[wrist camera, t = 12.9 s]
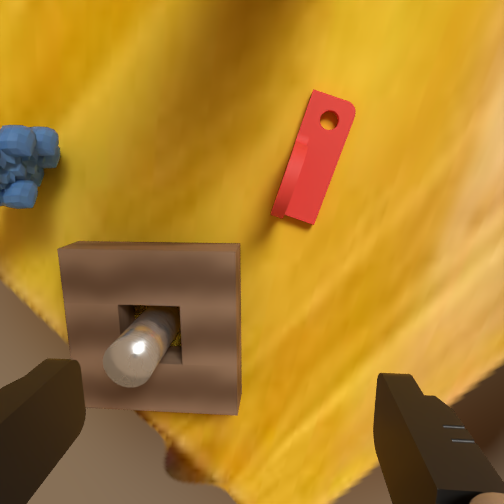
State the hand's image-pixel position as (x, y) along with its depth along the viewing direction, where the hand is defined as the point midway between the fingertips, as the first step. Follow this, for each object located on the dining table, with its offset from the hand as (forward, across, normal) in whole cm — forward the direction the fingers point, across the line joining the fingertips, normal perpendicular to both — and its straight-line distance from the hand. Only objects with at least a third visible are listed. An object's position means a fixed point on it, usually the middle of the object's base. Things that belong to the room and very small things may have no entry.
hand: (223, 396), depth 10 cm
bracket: (+30, -4, -7) cm, 32 cm away
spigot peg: (+30, +12, +11) cm, 34 cm away
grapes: (+30, +24, -5) cm, 39 cm away
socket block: (+30, +12, +11) cm, 34 cm away
